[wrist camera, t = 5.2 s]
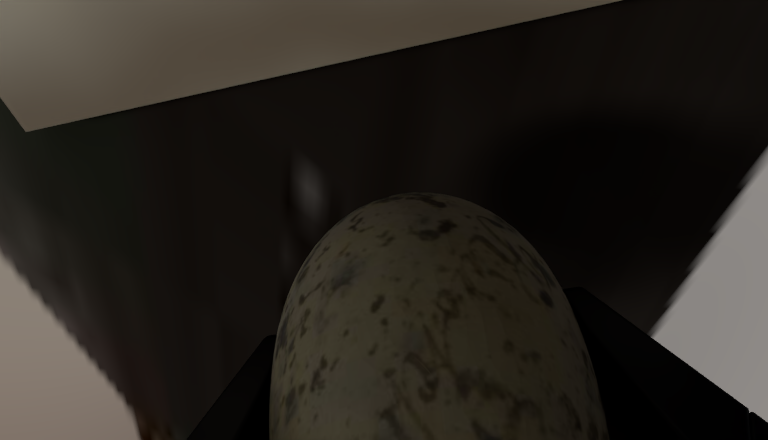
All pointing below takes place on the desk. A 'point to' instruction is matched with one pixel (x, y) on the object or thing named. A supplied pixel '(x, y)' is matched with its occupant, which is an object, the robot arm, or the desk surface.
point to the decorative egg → (430, 334)
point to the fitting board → (210, 44)
